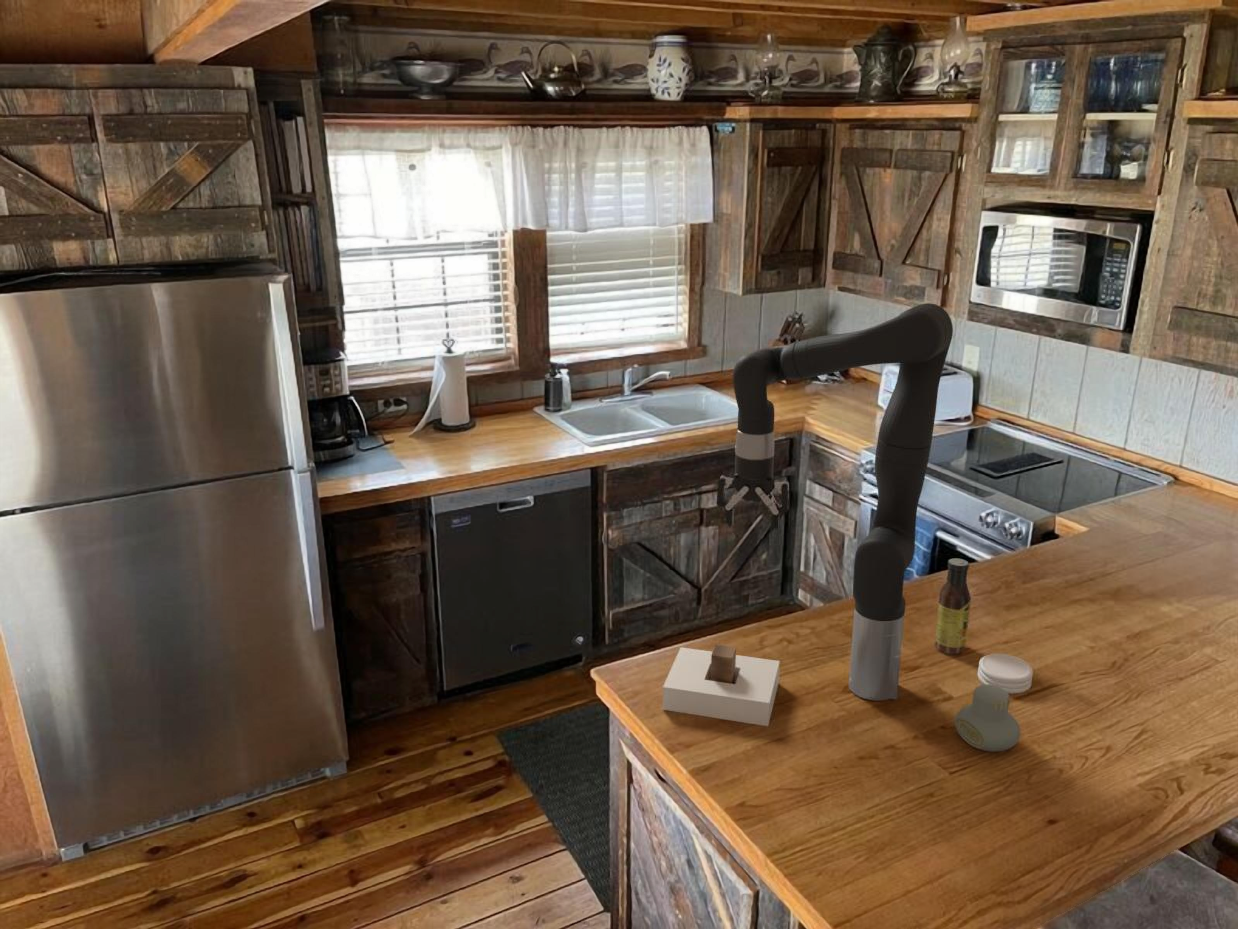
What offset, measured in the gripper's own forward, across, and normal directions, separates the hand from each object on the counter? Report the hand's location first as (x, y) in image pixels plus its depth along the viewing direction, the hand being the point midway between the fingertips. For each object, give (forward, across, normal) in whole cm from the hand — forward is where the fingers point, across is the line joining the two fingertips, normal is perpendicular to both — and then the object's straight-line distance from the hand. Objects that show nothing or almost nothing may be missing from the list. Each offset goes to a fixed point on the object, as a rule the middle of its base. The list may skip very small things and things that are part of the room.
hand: (751, 527), depth 188 cm
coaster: (+29, -51, -2) cm, 59 cm away
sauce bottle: (+28, -41, -12) cm, 51 cm away
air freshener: (+28, -46, +20) cm, 58 cm away
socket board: (+28, +2, +18) cm, 34 cm away
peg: (+28, +2, +18) cm, 34 cm away
